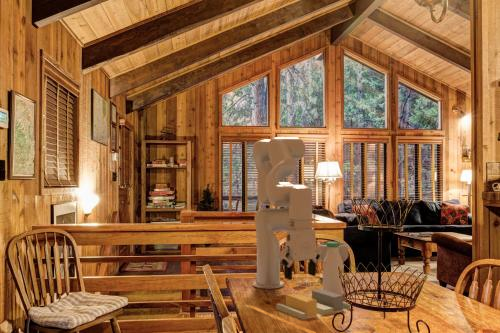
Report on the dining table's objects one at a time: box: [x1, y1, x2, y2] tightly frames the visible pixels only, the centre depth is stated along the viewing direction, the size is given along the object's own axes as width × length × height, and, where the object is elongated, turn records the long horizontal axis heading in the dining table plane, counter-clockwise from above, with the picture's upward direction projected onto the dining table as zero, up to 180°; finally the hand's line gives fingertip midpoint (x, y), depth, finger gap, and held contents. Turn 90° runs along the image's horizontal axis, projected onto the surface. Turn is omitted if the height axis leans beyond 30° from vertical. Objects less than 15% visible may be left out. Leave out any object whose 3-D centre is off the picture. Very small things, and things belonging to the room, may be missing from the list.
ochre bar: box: [285, 292, 317, 316], centre depth 152 cm, size 11×4×4 cm, turn 32°
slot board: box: [275, 300, 351, 321], centre depth 155 cm, size 14×21×3 cm, turn 122°
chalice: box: [317, 241, 349, 280], centre depth 209 cm, size 14×14×15 cm
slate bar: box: [311, 288, 344, 311], centre depth 158 cm, size 11×4×4 cm, turn 32°
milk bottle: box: [322, 241, 345, 296], centre depth 177 cm, size 8×8×20 cm
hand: (300, 276), depth 153 cm, fingers open, 9 cm apart
